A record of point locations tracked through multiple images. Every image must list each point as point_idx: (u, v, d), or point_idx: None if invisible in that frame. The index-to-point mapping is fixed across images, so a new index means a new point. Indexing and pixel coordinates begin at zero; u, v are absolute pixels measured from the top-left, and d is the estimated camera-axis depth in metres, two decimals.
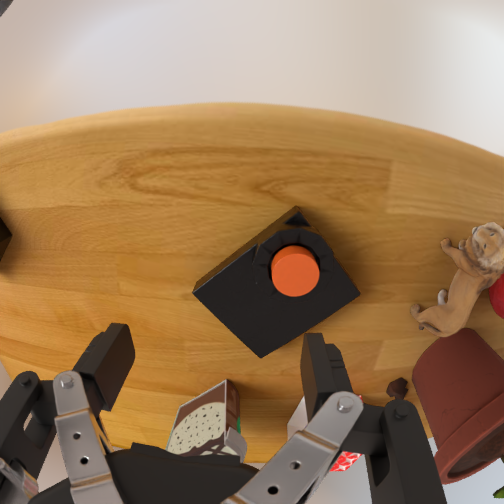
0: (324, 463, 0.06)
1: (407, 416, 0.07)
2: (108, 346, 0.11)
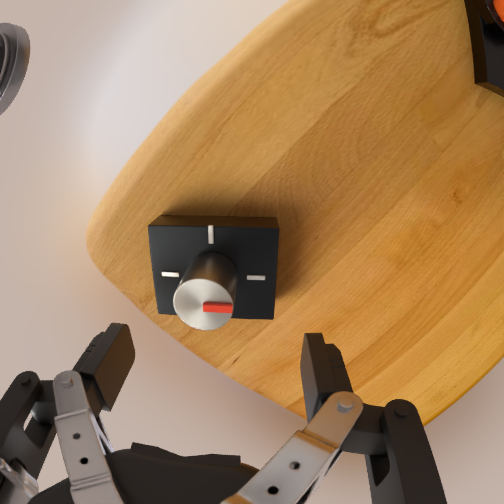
0: (324, 463, 0.06)
1: (407, 416, 0.07)
2: (108, 346, 0.11)
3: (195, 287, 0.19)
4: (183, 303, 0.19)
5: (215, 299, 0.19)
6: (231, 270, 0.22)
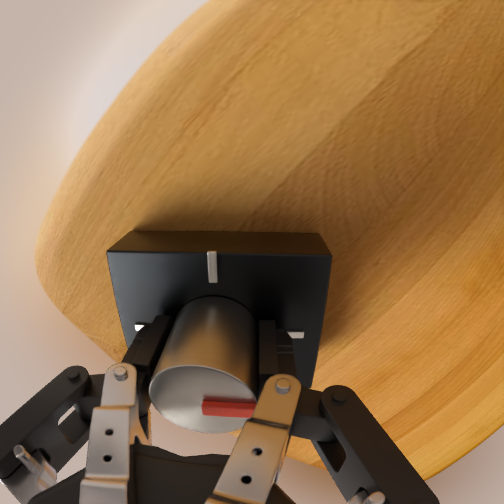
0: (284, 443, 0.06)
1: (345, 402, 0.08)
2: (158, 337, 0.11)
3: (186, 378, 0.09)
4: (166, 399, 0.10)
5: (224, 397, 0.09)
6: (251, 329, 0.12)
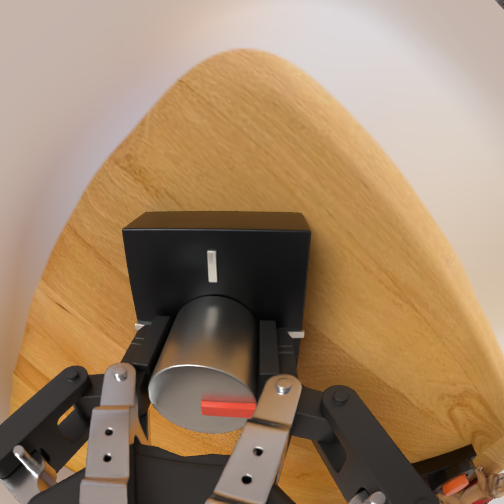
0: (284, 443, 0.06)
1: (345, 402, 0.08)
2: (157, 337, 0.11)
3: (185, 378, 0.09)
4: (166, 398, 0.10)
5: (223, 396, 0.09)
6: (250, 329, 0.12)
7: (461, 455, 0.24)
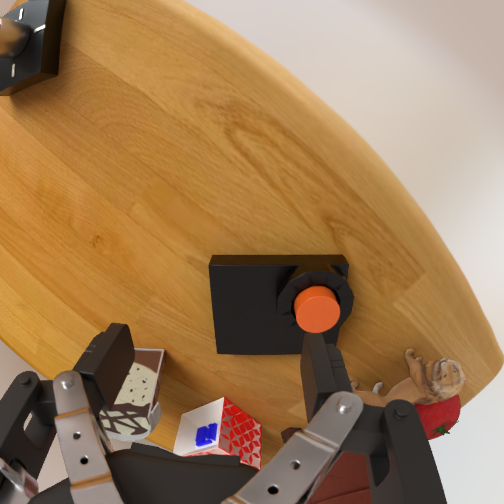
0: (324, 463, 0.06)
1: (407, 416, 0.07)
2: (108, 346, 0.11)
3: None
4: None
5: None
6: (21, 23, 0.14)
7: (319, 259, 0.26)
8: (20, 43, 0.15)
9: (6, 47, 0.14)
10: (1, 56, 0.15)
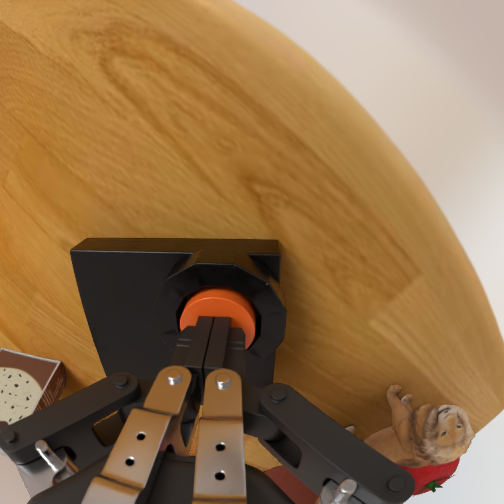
0: (242, 433, 0.07)
1: (282, 401, 0.08)
2: (206, 338, 0.12)
3: None
4: None
5: None
6: None
7: (231, 246, 0.16)
8: None
9: None
10: None
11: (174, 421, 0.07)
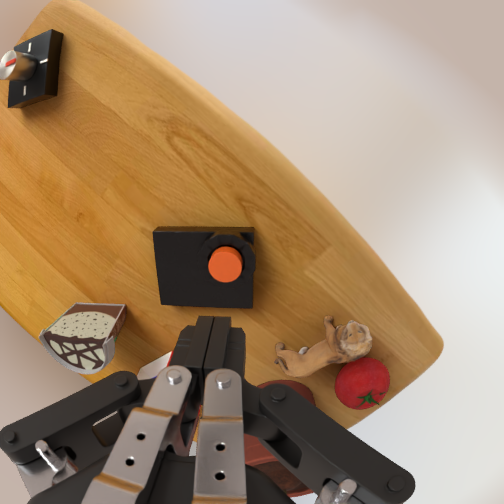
0: (242, 433, 0.07)
1: (282, 400, 0.08)
2: (206, 338, 0.12)
3: (6, 56, 0.21)
4: (0, 67, 0.21)
5: (11, 59, 0.21)
6: (30, 56, 0.24)
7: (232, 229, 0.35)
8: (29, 71, 0.25)
9: (20, 74, 0.24)
10: (16, 80, 0.24)
11: (174, 421, 0.07)
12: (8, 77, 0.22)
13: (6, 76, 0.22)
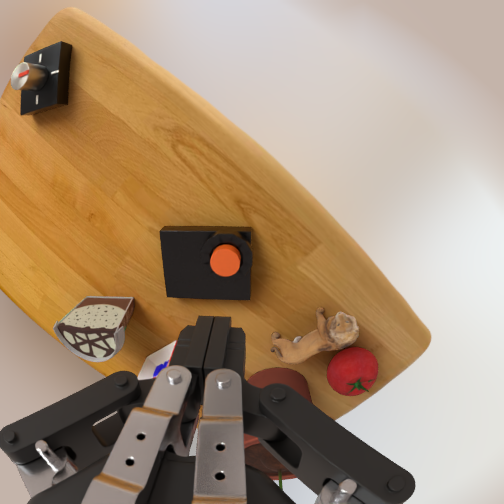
0: (242, 434, 0.07)
1: (282, 401, 0.08)
2: (206, 338, 0.12)
3: (18, 67, 0.24)
4: (13, 77, 0.25)
5: (23, 70, 0.25)
6: (41, 67, 0.27)
7: (231, 229, 0.39)
8: (41, 82, 0.28)
9: (32, 85, 0.27)
10: (29, 90, 0.28)
11: (174, 421, 0.07)
12: (21, 87, 0.26)
13: (20, 87, 0.25)
